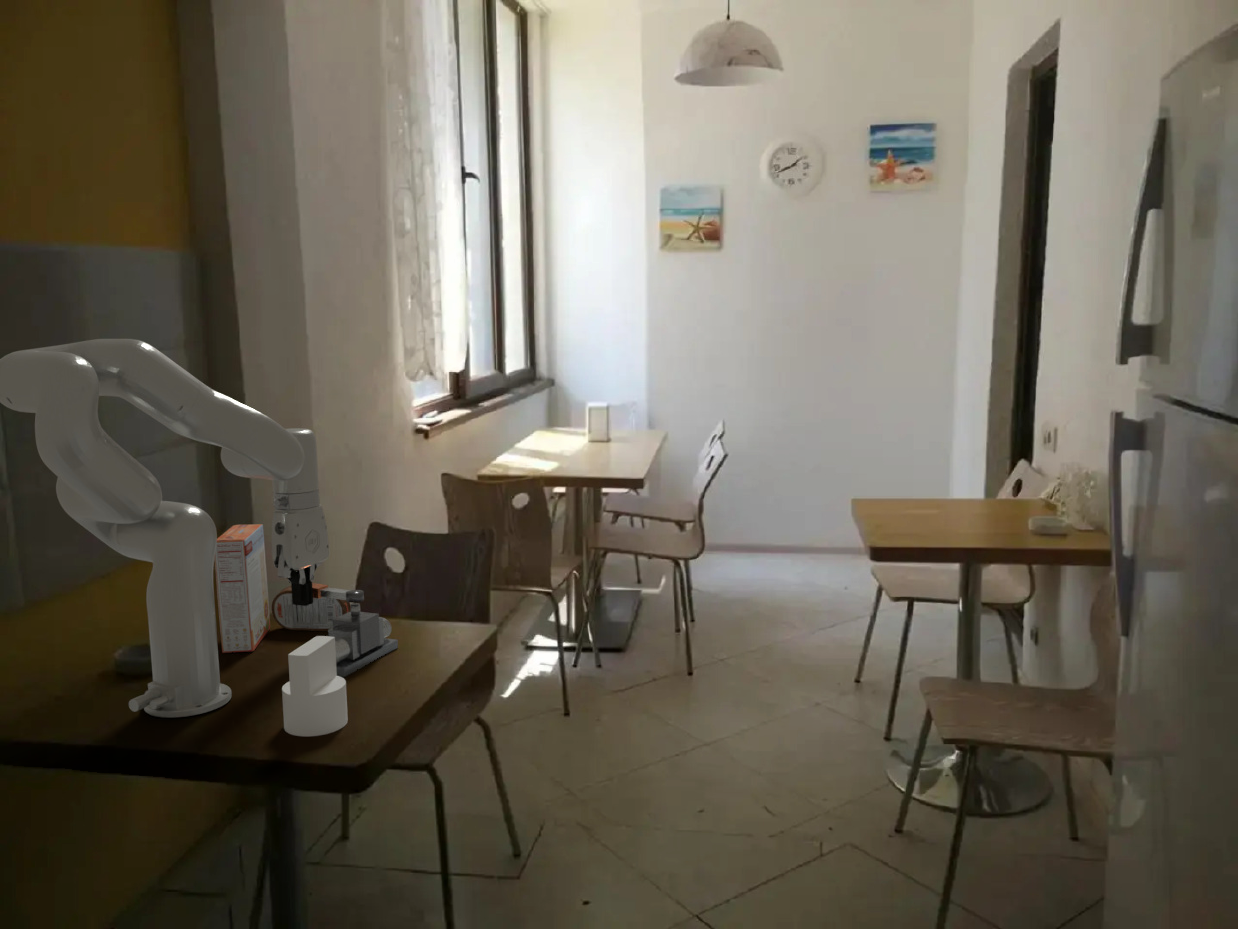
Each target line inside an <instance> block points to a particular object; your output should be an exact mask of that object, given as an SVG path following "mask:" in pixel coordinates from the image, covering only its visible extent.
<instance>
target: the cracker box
mask: <svg viewBox="0 0 1238 929" xmlns="http://www.w3.org/2000/svg"><path fill="white" fill-rule="evenodd" d="M264 535H265V534H264V524H260V523H257V524H256V523H255V524H235V525H234V524H233V525H232V526H230V528H228V529H227V530H226V531H225V532H223V533H222V534H221V535H220V536H218V537H217V543H216V551H215V557H214V570H215V572H214V573H215V580H216V581H215V583H216V593H217V594H216V596H217V606H218V618H219V619H218V620H219V628H220V629H219V630H220V632H219V633H220V640H221V642H220V644H221V652H222V654H231V653H232V652H233V653H244V652H245V653H246V652H254V651H255V649H256V648H257V647H258V646H259V644H260V643H261V641H262V640H263V639H264V637H265V636H266V635H267V633H268V632H269V630H270V629H271V621H270V620H271V616H270V614H271V613H270V605H269V604H270V603H269V601H270V600H269V591H268V576H267V565H266V564H267V562H266V550H265V549H266V548H265V536H264ZM233 653H232V654H233Z"/></svg>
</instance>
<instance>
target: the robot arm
mask: <svg viewBox="0 0 1238 929" xmlns="http://www.w3.org/2000/svg"><path fill="white" fill-rule="evenodd" d="M103 396H104V397H118V398H121V399H122V400H123V399H124V400H125V401H127V402H128V403H130V404H131V405H133V406H134V407H136V408H137V409H139V410H141V411H142V412H143V413H145V414H146V415H148V416H150V417H152V419H154V420H156V421H157V422H159V423H160V424H161V425H163V426H165V427H166V428H168V429H169V430H170V431H172V432H173V433H175V434H178V435H179V436H182V437H184V438H187V439H188V438H189V439H191V440H194V441H197V442H200V443H204V444H209V445H214V446H217V447H221V450H220V460H221V464H222V465H223V466H224V468H225V470H227V471H228V472H229V473H231V474H232V475H235V476H238V477H242V478H246V479H247V478H248V479H256V480H257V479H261V480H270V481H272V495H273V497H272V498H273V509H274V510H273V514H272V522H271V523H272V524H271V555H272V556H271V558H272V563H273V565H274V568H276V569H277V578H282V579H283V578H285V579H288V583H289V584H291V585H290V586H291V588H292V603H293V604H294V605H301V606H308V605H309V604H312V603H313V590H312V583H313V581H314V580H315V573H316V571H317V569H318V567H320V566H321V565H323V562H325V561H326V560H327V559H328V558H329V556H330V543H329V534H328V526H327V520H326V516H325V511H324V508H323V505H322V504H321V502H320V486H319V485H320V484H319V483H320V482H319V467H318V452H317V450H318V448H317V437H316V434H315V432H314V431H313V430H311V429H308V428H298V427H297V428H295V427H294V428H293V427H292V428H284V427H283V426H282V425H281V424H280V423H278V422H277V421H275V420H274V419H272V418H271V417H269V416H268V415H265V414H263V413H262V412H260V411H258V410H256V409H254V408H252V407H250V406H248V405H246V404H243V403H241V402H239V400H235V399H233V398H232V397H230V396H228V395H225V394H224V393H221V392H218V391H217V390H215V389H212V387H210V386H208V385H207V384H205V383H203V381H201V380H199V379H198V378H197V377H195V376H194V375H192V374H191V373H190V372H189V371H187V370H186V369H184V368H183V367H182V366H180V365H179V364H177V363H176V362H175V361H173V360H172V359H171V358H169V357H168V356H167V355H165V354H164V353H163V352H162V351H159V349H157V348H156V347H154V346H152V345H151V344H149V343H147V342H145V341H143V340H139V339H133V338H96V339H91V340H90V339H89V340H84V341H76V342H70V343H65V344H58V345H52V346H51V345H50V346H45V347H37V348H30V349H22V350H17V351H12V352H11V353H8V354H5V355H4V356H3V357H1V358H0V404H1V405H3V406H4V407H6V408H8V409H10V410H13V411H16V412H19V413H31V414H35V419H34V420H35V421H34V435H35V436H34V437H35V444H36V448H37V452H38V455H39V456H40V459H41V460H42V462H43V464H44V465H45V466H46V468H48V469H49V470H50V471H51V472H52V474H54V475H55V476H56V477H57V479H56V484H55V492H56V496H57V499H58V502H59V505H60V506H61V508H62V509H63V511H64V513H66V514H67V515H68V516H69V517H70V518H72V519H73V520H74V521H75V522H76V523H77V524H79V525H80V526H82V527H83V528H84V529H85V530H87V531H88V532H89V533H91V534H92V535H94V536H95V537H96V538H97V539H99V540H100V541H101V542H103V543H104V544H106V545H107V546H108V547H109V548H111V549H112V550H114V551H115V552H116V553H118V554H120V555H121V556H124V557H127V558H130V559H133V560H134V559H135V560H139V561H143V562H150V563H152V569H151V573H150V576H149V579H148V582H147V587H146V599H145V600H146V612H147V621H148V623H147V624H148V633H149V634H148V635H149V645H150V658H151V659H150V660H151V671H152V672H151V673H152V681H151V682H148V683H147V688H148V689H147V690H145V692H144V693H143V694H142V695H139V696H136V697H134V698H132V699H129V701H128V707H129V709H130V710H131V711H132V712H133V713H134V712H138V711H140V710H142V709H143V710H144V712H145V713H147V714H149V715H150V716H153V717H158V718H169V719H170V718H185V717H191V716H196V715H202V714H206V713H208V712H212V711H214V710H217V709H218V708H219V709H220V708H221V707H223V706H225V705H226V704H228V703H229V701H230V700H231V698H232V689H231V687H229V686H228V685H226V684H224V683H221V678H220V662H219V649H218V634H217V618H216V617H217V616H216V607H215V606H216V604H215V591H214V590H215V589H214V588H215V587H214V568H215V561H214V557H215V551H216V543H217V538H218V535H217V533H218V532H217V527H216V524H215V522H214V520H213V519H212V518H211V516H210V515H209V513H208V512H206V511H205V510H203V509H201V508H200V507H198V506H195V505H192V504H189V503H186V502H185V503H184V502H177V501H176V502H175V501H168V500H163V492H162V487H161V484H160V483H159V481H158V479H157V478H156V476H154V474H152V472H151V471H150V470H149V469H148V468H146V467H145V466H144V465H143V464H142V463H140V462H139V461H138V460H137V459H136V458H134V457H133V456H132V455H131V454H130V453H128V452H127V450H125V449H124V448H123V447H122V446H120V444H118V443H117V442H115V440H114V439H113V438H111V436H110V434H109V435H108V434H107V432H106V431H105V429H103V427H102V425H101V422H100V420H99V412H98V410H99V397H103Z"/></svg>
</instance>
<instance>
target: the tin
mask: <svg viewBox="0 0 1238 929" xmlns="http://www.w3.org/2000/svg"><path fill="white" fill-rule="evenodd" d="M329 587H330V588H334V587H332V586H329ZM271 602H272V603H271V613H272V617H273V619H274V620H275V622H276V623H277V624H278V625H279V626H280V627H282V628H283V629H285V630H289V631H305V632H306V631H308V632H309V631H311V632H313V631H314V632H328V630H329V629H331V628H333V619H335V618H337V617H339V616H342V615H344V614H346V613H348V612H351V602H347V601H346V600H341V599H334V598H327V597H322V598H319V599H318V598H313V603H312V604H309V605H308V606H301V605H294V604H293V603H292V588H291V585H290V586H287V587H285V588H283V589H281V590H280V591H279V593H278V594H277V595H275V596H274V598H273V599H272V601H271Z"/></svg>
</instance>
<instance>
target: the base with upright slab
mask: <svg viewBox="0 0 1238 929" xmlns="http://www.w3.org/2000/svg"><path fill="white" fill-rule="evenodd" d="M287 656H288V658H287V659H288V661H287V662H288V674H289V675H288V676H289V681H287V682H286V683H285V684H283V685H282V687H281V694H282V698H281V700H282V712H283V714H282V715H283V730H284V731H285V732H286V733H288V734H289V735H291V736H297V737H319V736H323V735H328V734H331V733H334V732H337V731H340V730H341V729H343V728H344V727H345V726H346V725H348V720H349V718H348V701H347V700H348V698H347V680H346V679H345V678H344V677H341V676H337V671H336V651H335V637H330V636H329V635H326V636H325V635H316V636H315V637H313V638H311V639H310V640H308V641H307V642H305V643H304V644H302V645H300V646H299V647H297V648H296V649H294V650H293V651H291V652H290V653H288V654H287Z"/></svg>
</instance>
